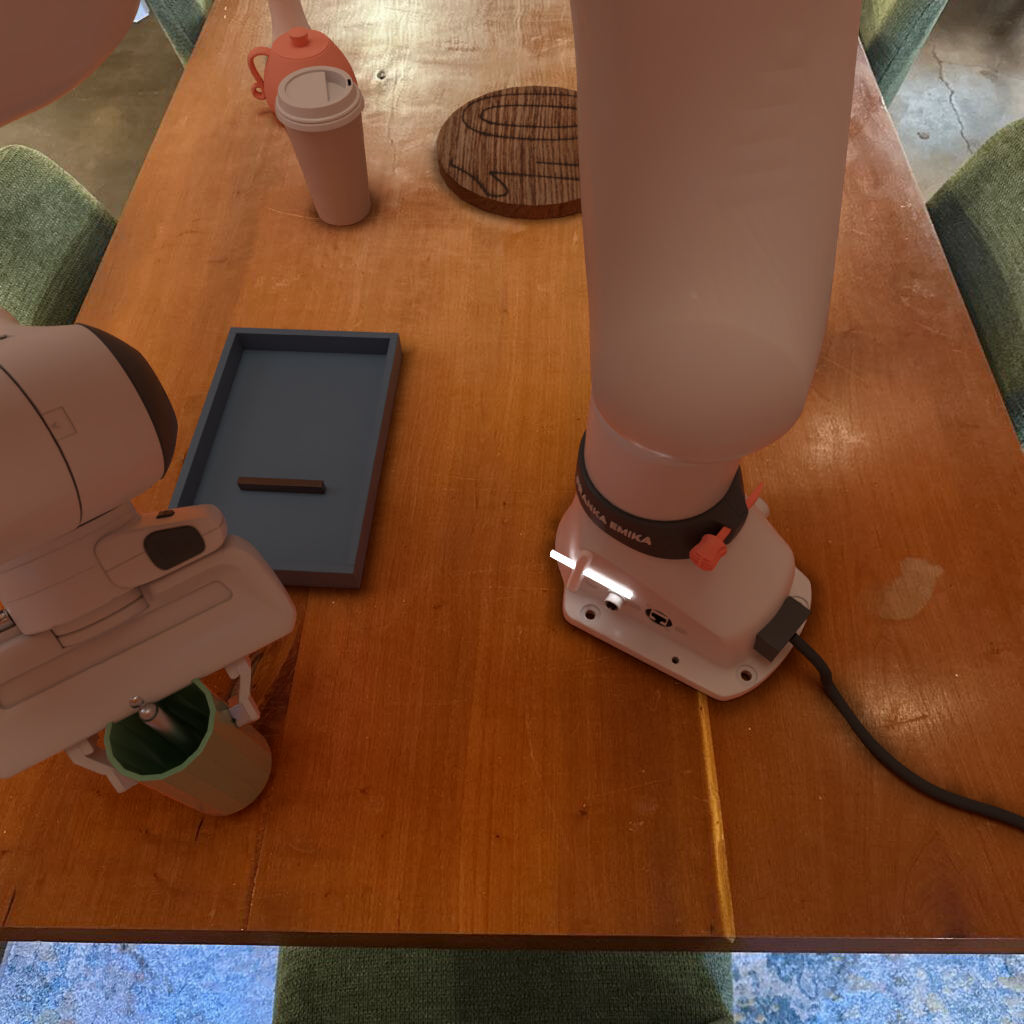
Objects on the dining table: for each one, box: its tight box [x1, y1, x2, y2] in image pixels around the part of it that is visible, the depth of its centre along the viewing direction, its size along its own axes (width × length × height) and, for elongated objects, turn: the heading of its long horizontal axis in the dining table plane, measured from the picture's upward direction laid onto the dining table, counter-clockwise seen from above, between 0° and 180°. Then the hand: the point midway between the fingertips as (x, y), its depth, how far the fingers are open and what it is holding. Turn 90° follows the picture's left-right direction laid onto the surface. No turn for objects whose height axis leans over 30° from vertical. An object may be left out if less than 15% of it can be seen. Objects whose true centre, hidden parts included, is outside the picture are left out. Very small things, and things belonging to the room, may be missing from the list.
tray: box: [167, 326, 404, 590], centre depth 73 cm, size 28×18×3 cm, turn 176°
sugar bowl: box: [246, 27, 359, 114], centre depth 100 cm, size 12×14×10 cm
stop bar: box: [237, 477, 326, 494], centre depth 71 cm, size 1×8×1 cm, turn 86°
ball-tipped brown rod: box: [139, 703, 202, 756], centre depth 52 cm, size 1×1×12 cm
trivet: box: [435, 85, 582, 220], centre depth 97 cm, size 25×25×2 cm
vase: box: [266, 0, 312, 49], centre depth 107 cm, size 8×8×10 cm
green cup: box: [103, 678, 273, 817], centre depth 52 cm, size 7×7×12 cm
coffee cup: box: [274, 66, 372, 227], centre depth 87 cm, size 10×10×15 cm
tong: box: [129, 696, 204, 740], centre depth 52 cm, size 1×1×12 cm
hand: (193, 751), depth 51 cm, fingers closed on green cup, 7 cm apart
